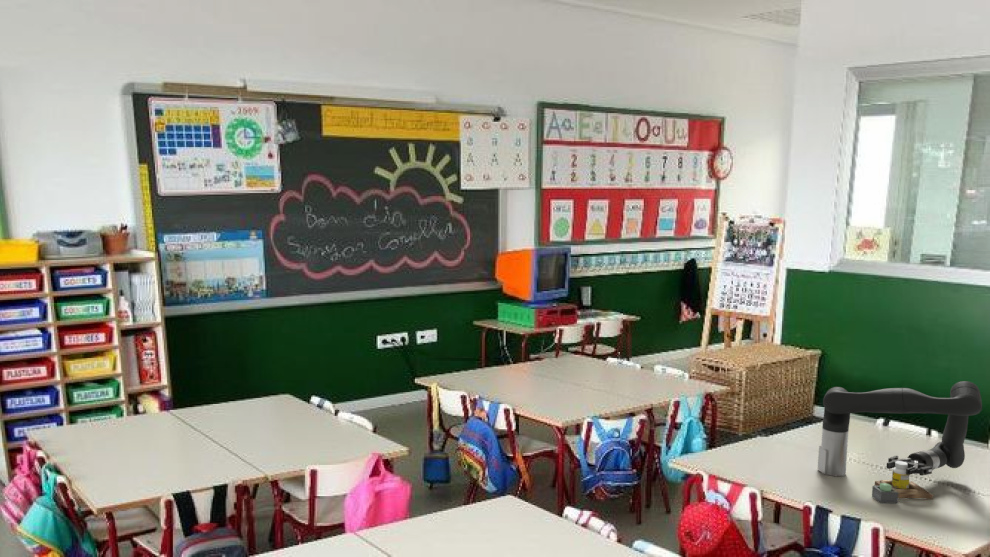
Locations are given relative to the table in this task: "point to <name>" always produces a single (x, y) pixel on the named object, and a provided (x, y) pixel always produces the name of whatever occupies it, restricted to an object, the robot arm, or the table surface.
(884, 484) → the button
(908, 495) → the pallet board
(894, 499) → the button box
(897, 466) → the supplement bottle
